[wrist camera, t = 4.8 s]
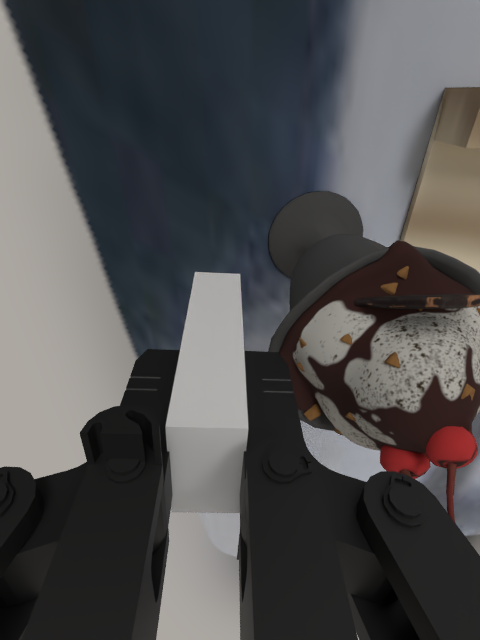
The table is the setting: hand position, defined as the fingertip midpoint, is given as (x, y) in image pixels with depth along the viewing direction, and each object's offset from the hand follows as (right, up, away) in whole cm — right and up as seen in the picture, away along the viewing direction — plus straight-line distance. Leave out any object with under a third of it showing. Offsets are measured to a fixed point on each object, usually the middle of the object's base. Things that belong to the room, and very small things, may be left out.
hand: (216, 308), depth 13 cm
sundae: (+5, +4, +7) cm, 9 cm away
